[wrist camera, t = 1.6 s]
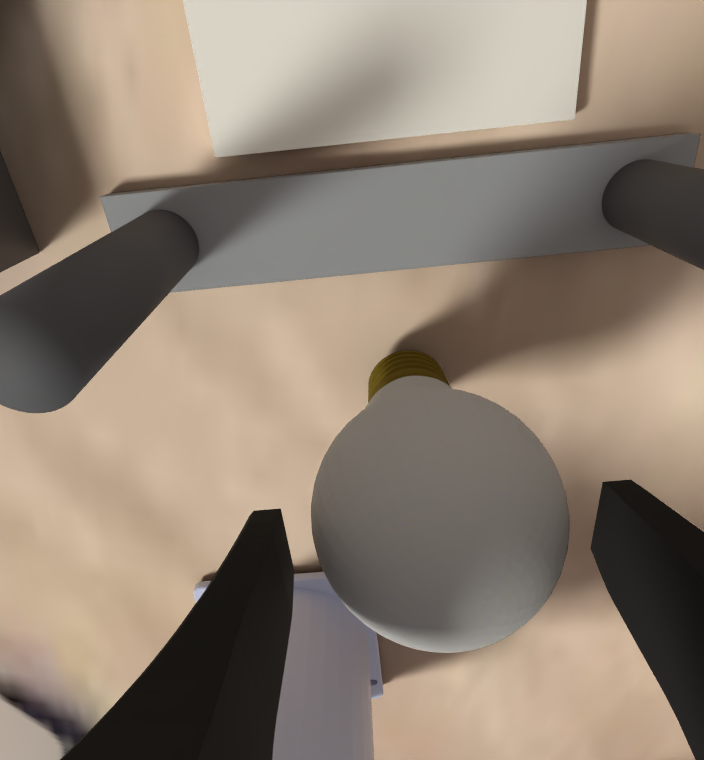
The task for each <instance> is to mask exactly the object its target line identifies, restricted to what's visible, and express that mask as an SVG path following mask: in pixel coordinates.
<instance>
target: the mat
mask: <svg viewBox="0 0 704 760" xmlns="http://www.w3.org/2000/svg"><path fill="white" fill-rule="evenodd" d="M183 4H184V9H185V14H186V19H187V23H188V28H189V33H190V38H191V43H192V48H193V52H194V57H195V62H196V67H197V72H198V77H199V81H200V86H201V91H202V96H203V101H204V106H205V110H206V115H207V120H208V125H209V130H210V135H211V139H212V144H213V149H214V154H215V158H217V157H226V156H236V155H245V154H254V153H264V152H273V151H283V150H292V149H301V148H311V147H320V146H330V145H339V144H348V143H358V142H367V141H376V140H386V139H395V138H405V137H414V136H423V135H433V134H442V133H452V132H461V131H470V130H480V129H489V128H499V127H508V126H517V125H527V124H536V123H546V122H555V121H564V120H574V119H575V111H576V102H577V92H578V82H579V72H580V62H581V53H582V43H583V33H584V23H585V13H586V4H587V0H183Z"/></svg>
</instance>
